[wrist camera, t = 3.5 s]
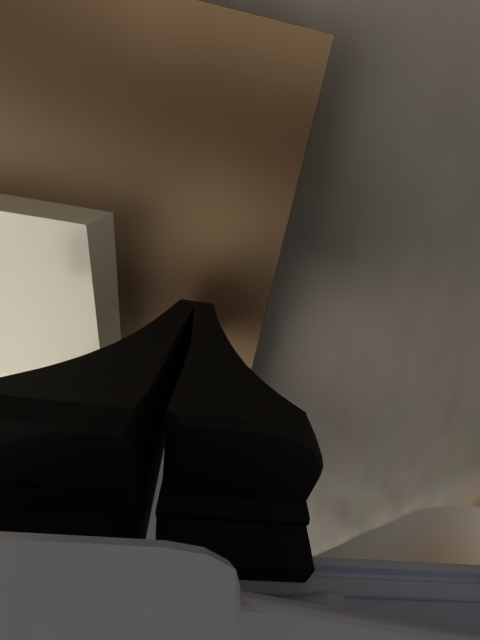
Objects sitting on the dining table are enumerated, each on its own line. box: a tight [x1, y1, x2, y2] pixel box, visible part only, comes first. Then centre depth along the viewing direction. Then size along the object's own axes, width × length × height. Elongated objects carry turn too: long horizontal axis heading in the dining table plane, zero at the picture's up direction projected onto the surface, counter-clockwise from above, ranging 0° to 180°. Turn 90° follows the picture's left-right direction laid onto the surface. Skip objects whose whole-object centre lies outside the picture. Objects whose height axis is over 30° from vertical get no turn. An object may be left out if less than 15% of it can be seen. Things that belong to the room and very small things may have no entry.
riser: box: [0, 0, 334, 369], centre depth 12 cm, size 18×16×3 cm
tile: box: [0, 193, 121, 377], centre depth 10 cm, size 7×5×2 cm
